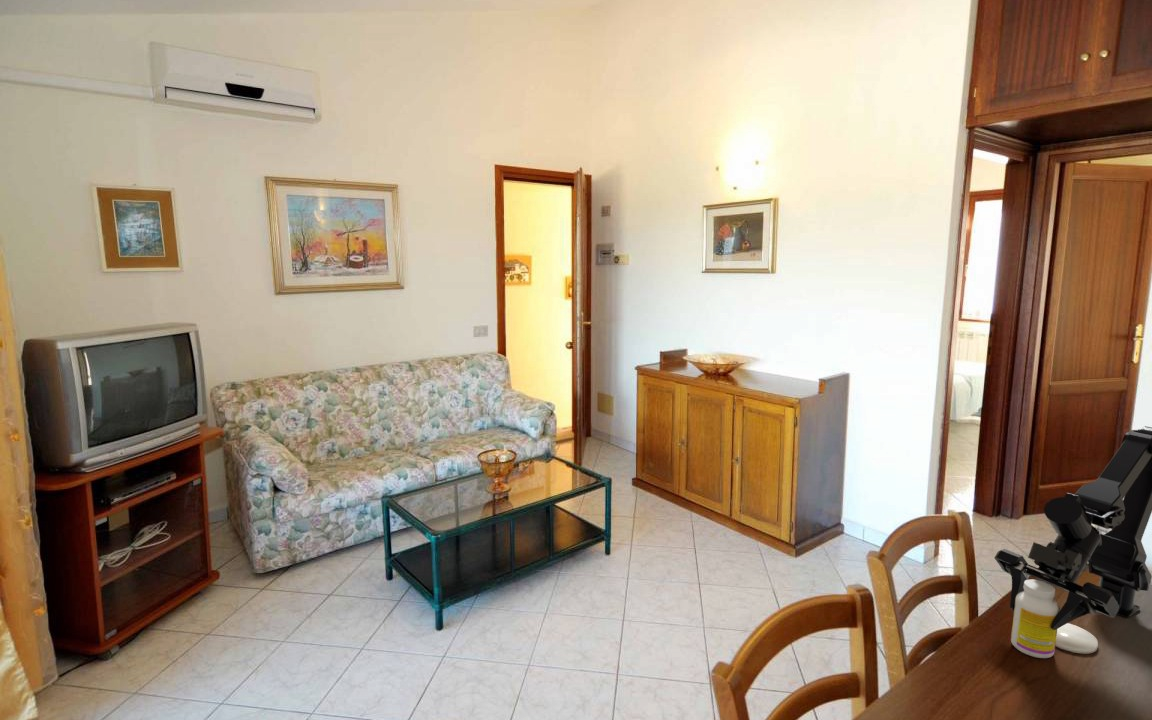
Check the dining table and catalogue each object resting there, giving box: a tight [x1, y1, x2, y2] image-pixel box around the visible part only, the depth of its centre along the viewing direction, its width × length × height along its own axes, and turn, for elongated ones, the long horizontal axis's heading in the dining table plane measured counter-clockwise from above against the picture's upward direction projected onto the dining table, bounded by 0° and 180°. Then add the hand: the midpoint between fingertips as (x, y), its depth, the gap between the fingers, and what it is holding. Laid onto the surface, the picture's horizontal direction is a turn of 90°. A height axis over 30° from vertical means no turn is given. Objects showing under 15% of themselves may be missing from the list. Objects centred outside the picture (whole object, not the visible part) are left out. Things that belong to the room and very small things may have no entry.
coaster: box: [1055, 622, 1099, 655], centre depth 119 cm, size 9×9×1 cm
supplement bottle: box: [1010, 578, 1061, 659], centre depth 115 cm, size 7×7×13 cm
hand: (1031, 618), depth 114 cm, fingers closed on supplement bottle, 7 cm apart
